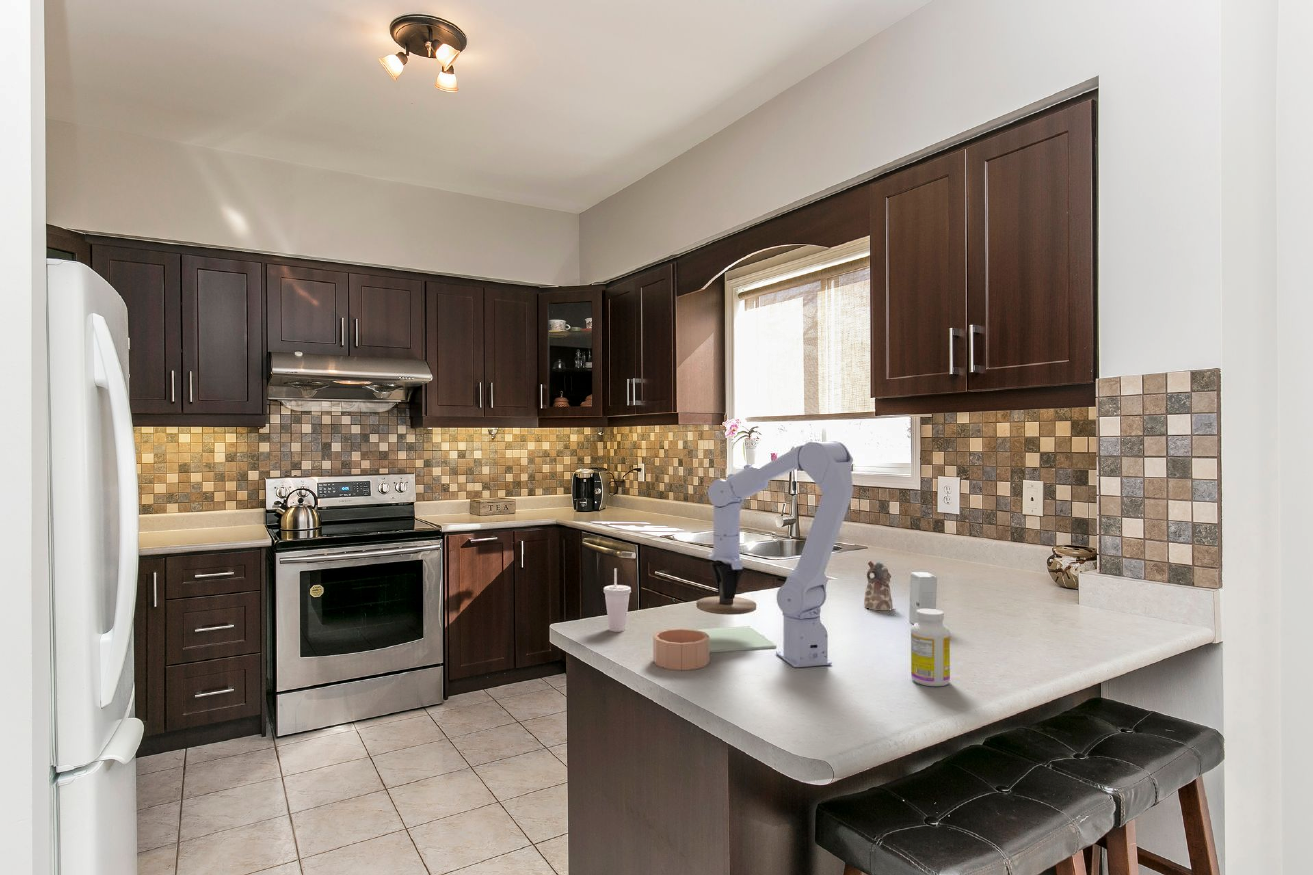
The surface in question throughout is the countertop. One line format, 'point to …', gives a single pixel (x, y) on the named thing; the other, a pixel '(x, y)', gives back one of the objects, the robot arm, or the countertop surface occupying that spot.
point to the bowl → (681, 649)
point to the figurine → (878, 588)
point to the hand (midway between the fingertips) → (726, 596)
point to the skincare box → (922, 593)
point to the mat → (736, 639)
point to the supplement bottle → (930, 649)
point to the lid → (726, 604)
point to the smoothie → (617, 604)
